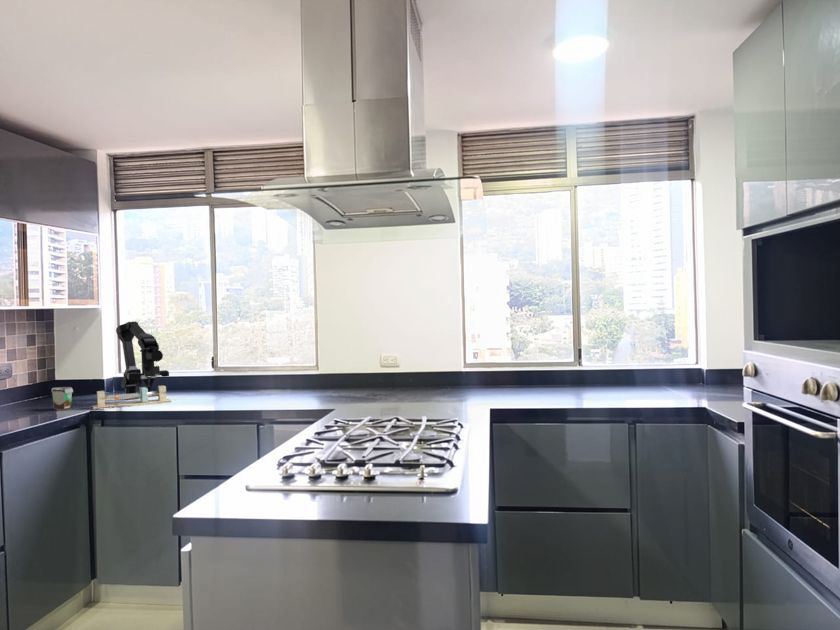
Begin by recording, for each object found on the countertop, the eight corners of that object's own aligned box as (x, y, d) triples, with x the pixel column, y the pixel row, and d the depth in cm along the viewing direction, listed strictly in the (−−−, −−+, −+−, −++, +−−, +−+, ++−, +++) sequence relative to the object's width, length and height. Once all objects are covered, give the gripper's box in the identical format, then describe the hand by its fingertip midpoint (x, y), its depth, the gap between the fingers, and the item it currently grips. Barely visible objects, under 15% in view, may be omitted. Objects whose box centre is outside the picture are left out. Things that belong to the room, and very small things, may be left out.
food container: (79, 408, 280) (78, 387, 280) (66, 410, 275) (65, 389, 275) (65, 406, 286) (64, 386, 286) (52, 408, 281) (51, 388, 281)
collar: (139, 399, 295) (139, 387, 295) (145, 398, 296) (144, 386, 296) (142, 402, 285) (142, 389, 285) (148, 401, 287) (147, 388, 287)
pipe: (97, 401, 279) (97, 395, 279) (165, 395, 295) (164, 389, 295) (97, 402, 277) (97, 396, 277) (165, 395, 293) (165, 390, 293)
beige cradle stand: (92, 407, 281) (91, 391, 281) (168, 399, 299) (167, 384, 299) (93, 410, 273) (92, 393, 273) (171, 402, 291) (170, 386, 291)
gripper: (129, 363, 283) (130, 395, 284) (170, 360, 293) (171, 391, 294) (126, 362, 293) (127, 393, 293) (166, 359, 303) (167, 389, 303)
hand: (149, 391), depth 295 cm, fingers closed
